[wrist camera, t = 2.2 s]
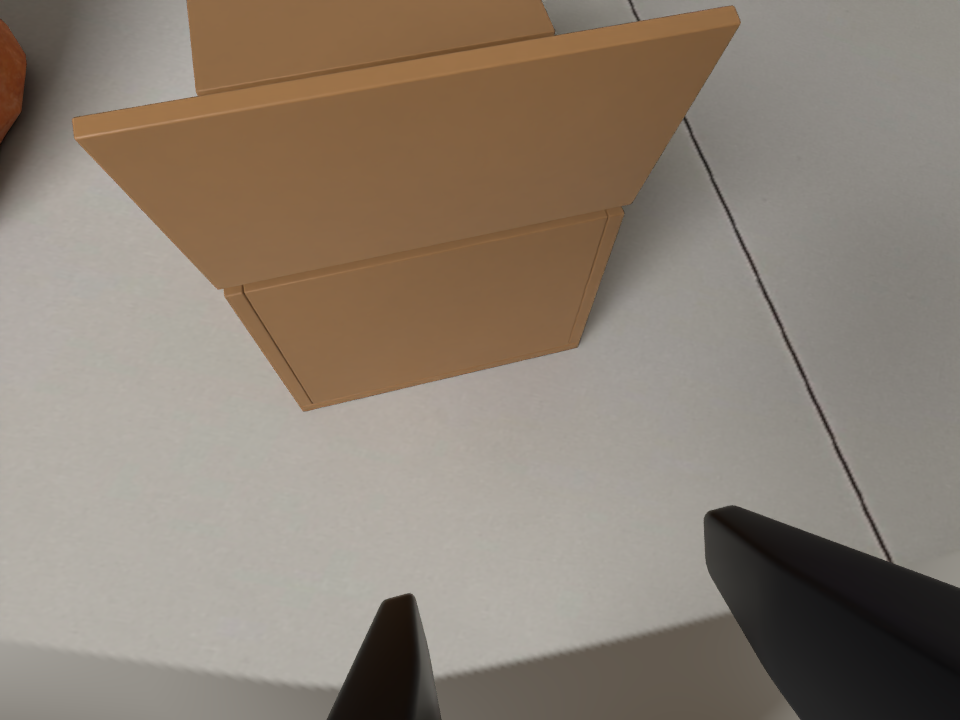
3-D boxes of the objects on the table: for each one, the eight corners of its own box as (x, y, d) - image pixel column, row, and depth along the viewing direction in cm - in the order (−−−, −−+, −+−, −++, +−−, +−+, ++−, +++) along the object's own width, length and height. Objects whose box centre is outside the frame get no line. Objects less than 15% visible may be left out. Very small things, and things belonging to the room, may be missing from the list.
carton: (577, 347, 25) (632, 193, 17) (303, 412, 24) (212, 280, 15) (492, 114, 30) (501, -92, 22) (263, 156, 29) (179, -46, 21)
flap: (627, 191, 17) (631, 204, 17) (215, 275, 16) (217, 290, 16) (734, 3, 11) (742, 22, 11) (70, 116, 9) (73, 139, 9)
